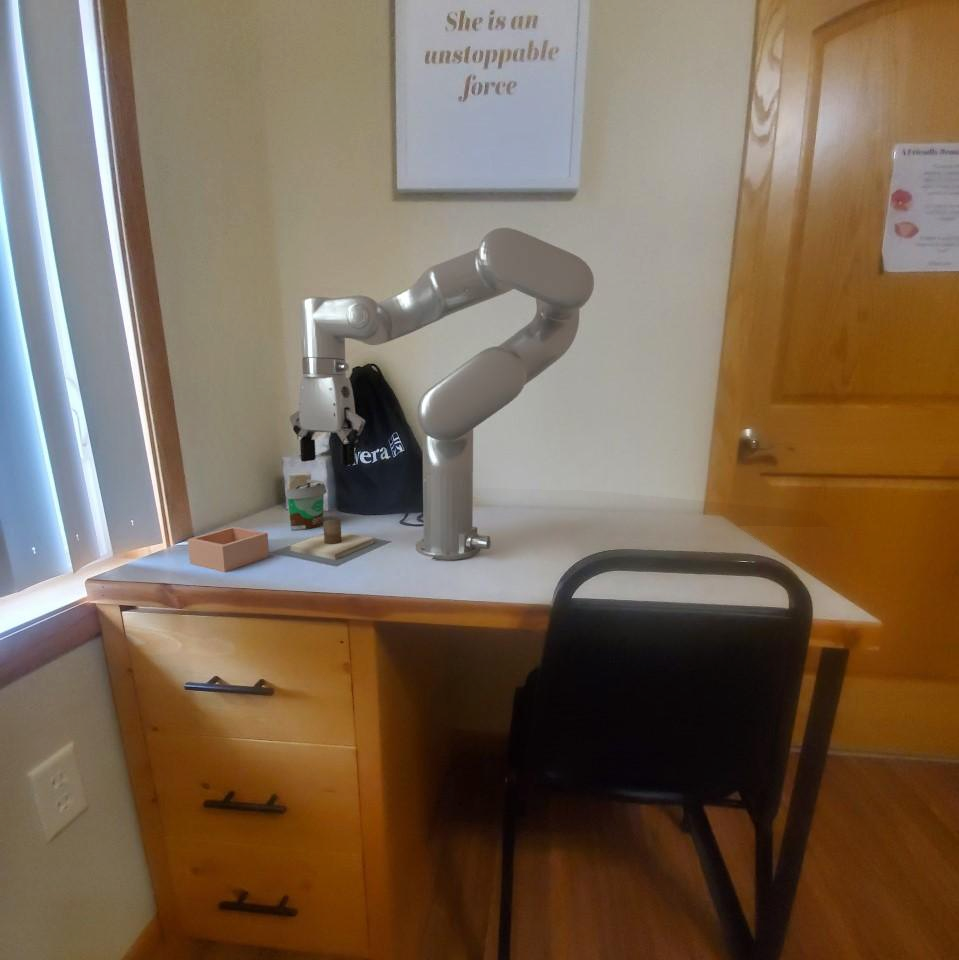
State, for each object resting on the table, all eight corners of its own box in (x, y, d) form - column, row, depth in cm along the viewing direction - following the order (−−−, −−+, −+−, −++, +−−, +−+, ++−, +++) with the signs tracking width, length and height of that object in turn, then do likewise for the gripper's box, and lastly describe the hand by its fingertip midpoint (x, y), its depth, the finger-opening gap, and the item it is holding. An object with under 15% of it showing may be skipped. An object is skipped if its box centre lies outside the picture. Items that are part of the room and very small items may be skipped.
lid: (373, 542, 96) (372, 518, 95) (335, 559, 86) (333, 532, 86) (331, 535, 101) (330, 512, 100) (290, 550, 91) (288, 525, 90)
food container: (317, 535, 103) (314, 489, 101) (288, 535, 103) (285, 489, 101) (335, 520, 115) (333, 479, 113) (310, 520, 115) (307, 479, 113)
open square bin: (269, 559, 88) (267, 532, 87) (225, 575, 80) (222, 546, 79) (235, 551, 92) (233, 526, 91) (190, 566, 84) (187, 539, 83)
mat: (391, 544, 97) (391, 541, 97) (336, 569, 83) (336, 566, 83) (330, 533, 104) (330, 531, 104) (270, 555, 90) (270, 552, 90)
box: (290, 521, 114) (287, 475, 112) (288, 516, 118) (285, 472, 116) (313, 518, 117) (311, 473, 115) (310, 514, 120) (308, 470, 118)
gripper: (375, 370, 87) (377, 464, 90) (304, 370, 95) (308, 457, 98) (347, 368, 81) (350, 469, 84) (273, 368, 88) (278, 461, 91)
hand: (327, 462), depth 91 cm, fingers open, 9 cm apart
